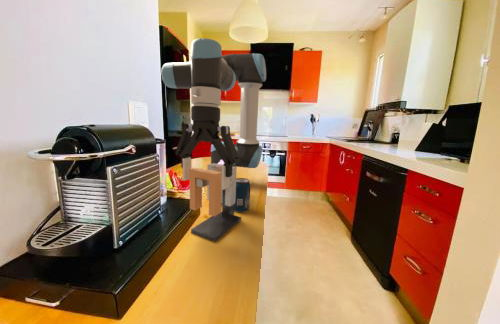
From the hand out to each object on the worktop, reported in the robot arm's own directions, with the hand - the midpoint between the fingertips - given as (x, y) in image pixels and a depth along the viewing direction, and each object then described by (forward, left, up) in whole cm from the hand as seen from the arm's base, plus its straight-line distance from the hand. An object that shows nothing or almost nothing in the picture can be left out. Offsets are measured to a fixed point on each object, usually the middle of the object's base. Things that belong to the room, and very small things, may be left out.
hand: (205, 183), depth 57 cm
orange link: (0, 0, -8) cm, 8 cm away
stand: (-7, 0, -16) cm, 18 cm away
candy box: (-28, -12, -17) cm, 34 cm away
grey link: (-8, 0, -8) cm, 12 cm away
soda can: (-22, 0, -16) cm, 27 cm away
